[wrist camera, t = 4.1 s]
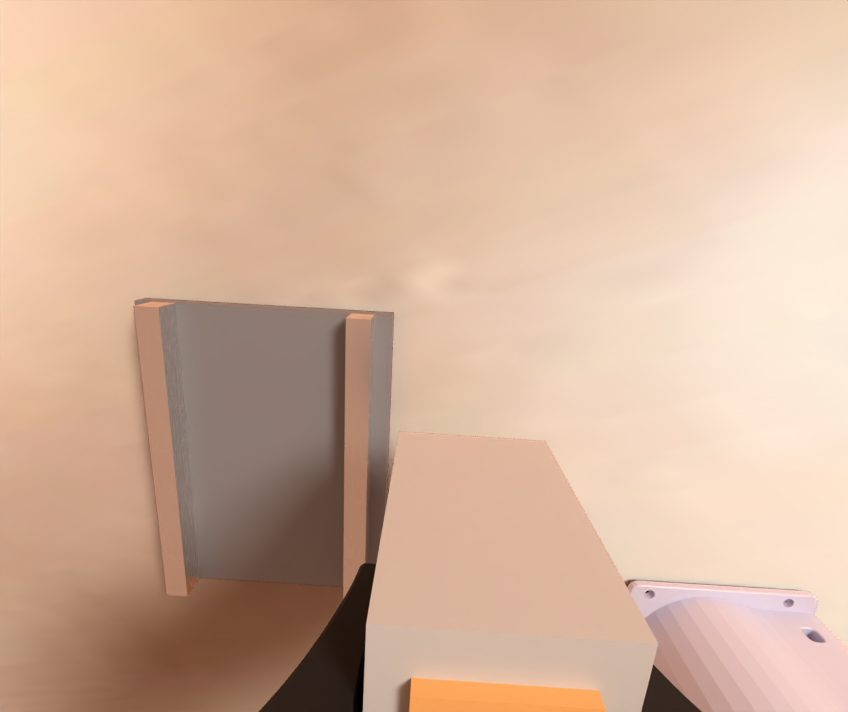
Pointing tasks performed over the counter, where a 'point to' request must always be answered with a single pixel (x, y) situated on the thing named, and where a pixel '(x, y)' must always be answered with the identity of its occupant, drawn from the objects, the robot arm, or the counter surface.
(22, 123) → the counter surface
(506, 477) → the module block
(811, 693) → the robot arm
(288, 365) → the rail mount
